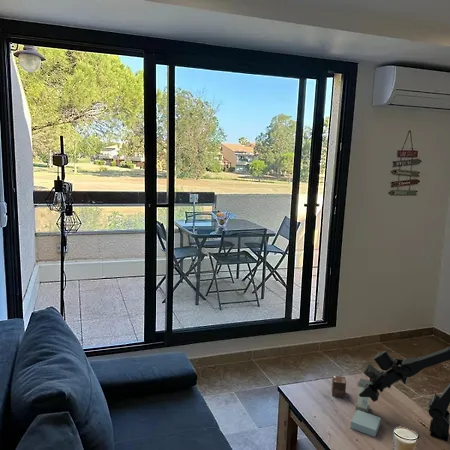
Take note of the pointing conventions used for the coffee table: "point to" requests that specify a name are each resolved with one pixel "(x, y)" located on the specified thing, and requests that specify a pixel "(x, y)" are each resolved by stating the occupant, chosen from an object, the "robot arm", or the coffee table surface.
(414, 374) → the robot arm
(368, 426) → the stand
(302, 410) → the coffee table surface
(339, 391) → the box
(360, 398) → the housing
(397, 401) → the coffee table surface
